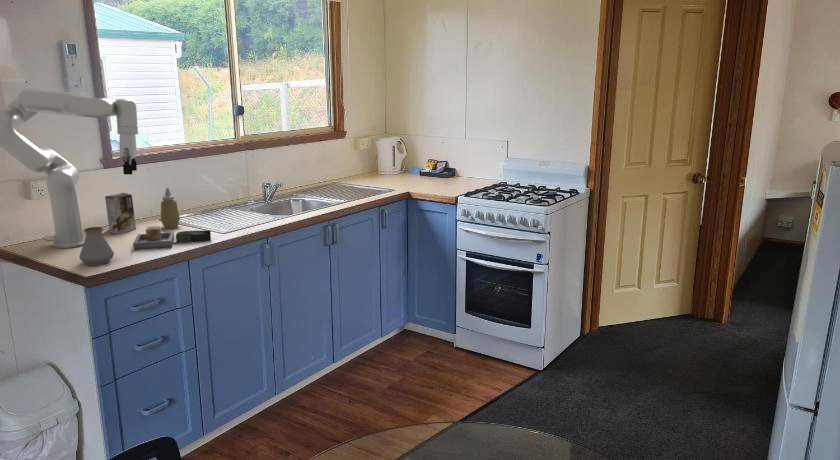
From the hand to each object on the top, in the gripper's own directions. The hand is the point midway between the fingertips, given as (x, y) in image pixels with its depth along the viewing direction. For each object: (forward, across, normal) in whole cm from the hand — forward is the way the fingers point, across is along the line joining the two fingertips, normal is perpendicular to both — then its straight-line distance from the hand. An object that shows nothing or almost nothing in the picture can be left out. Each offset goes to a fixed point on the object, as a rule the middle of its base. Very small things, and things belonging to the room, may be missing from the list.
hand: (130, 172), depth 253 cm
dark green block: (+28, +8, +24) cm, 38 cm away
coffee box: (+29, -17, -8) cm, 35 cm away
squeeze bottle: (+28, -19, +12) cm, 36 cm away
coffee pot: (+29, +26, -4) cm, 40 cm away
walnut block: (+27, +9, +9) cm, 30 cm away
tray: (+28, +9, +9) cm, 31 cm away
